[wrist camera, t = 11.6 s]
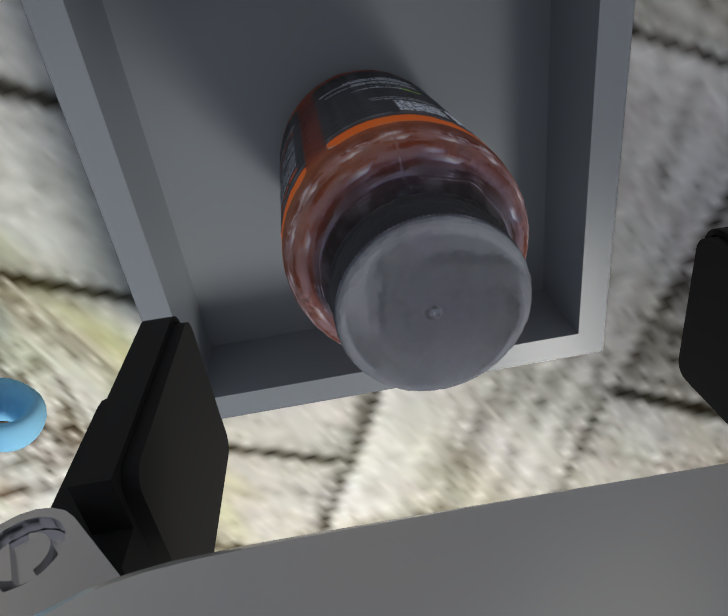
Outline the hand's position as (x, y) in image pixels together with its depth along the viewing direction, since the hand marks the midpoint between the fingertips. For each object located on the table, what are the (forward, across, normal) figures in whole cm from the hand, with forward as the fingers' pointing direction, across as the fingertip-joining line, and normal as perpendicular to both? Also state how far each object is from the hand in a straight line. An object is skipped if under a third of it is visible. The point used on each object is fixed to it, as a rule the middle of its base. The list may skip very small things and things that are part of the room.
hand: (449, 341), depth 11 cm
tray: (+13, +1, -1) cm, 13 cm away
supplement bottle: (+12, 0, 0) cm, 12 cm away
